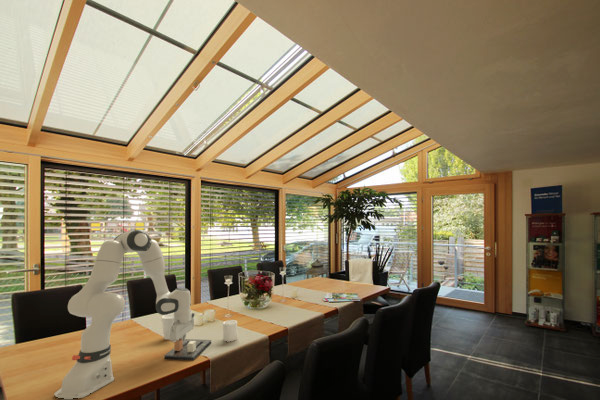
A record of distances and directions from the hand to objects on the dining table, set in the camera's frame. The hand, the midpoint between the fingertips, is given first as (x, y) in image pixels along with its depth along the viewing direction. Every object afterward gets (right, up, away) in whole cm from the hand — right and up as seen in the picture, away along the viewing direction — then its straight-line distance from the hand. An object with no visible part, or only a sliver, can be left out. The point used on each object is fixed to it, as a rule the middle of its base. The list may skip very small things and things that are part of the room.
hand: (182, 343), depth 169 cm
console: (+4, -4, -1) cm, 6 cm away
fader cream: (+7, -2, -6) cm, 10 cm away
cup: (+22, -5, +17) cm, 29 cm away
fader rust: (0, -2, -4) cm, 5 cm away
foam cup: (-15, -6, +20) cm, 26 cm away
